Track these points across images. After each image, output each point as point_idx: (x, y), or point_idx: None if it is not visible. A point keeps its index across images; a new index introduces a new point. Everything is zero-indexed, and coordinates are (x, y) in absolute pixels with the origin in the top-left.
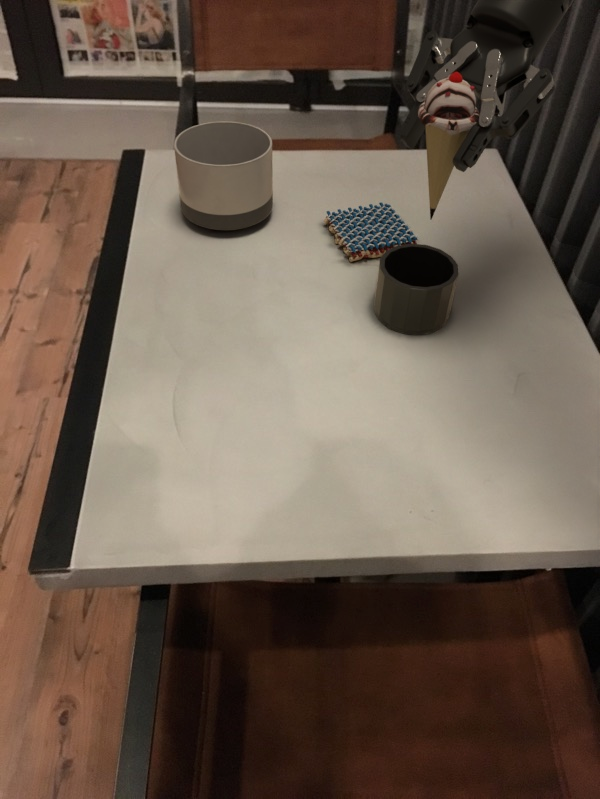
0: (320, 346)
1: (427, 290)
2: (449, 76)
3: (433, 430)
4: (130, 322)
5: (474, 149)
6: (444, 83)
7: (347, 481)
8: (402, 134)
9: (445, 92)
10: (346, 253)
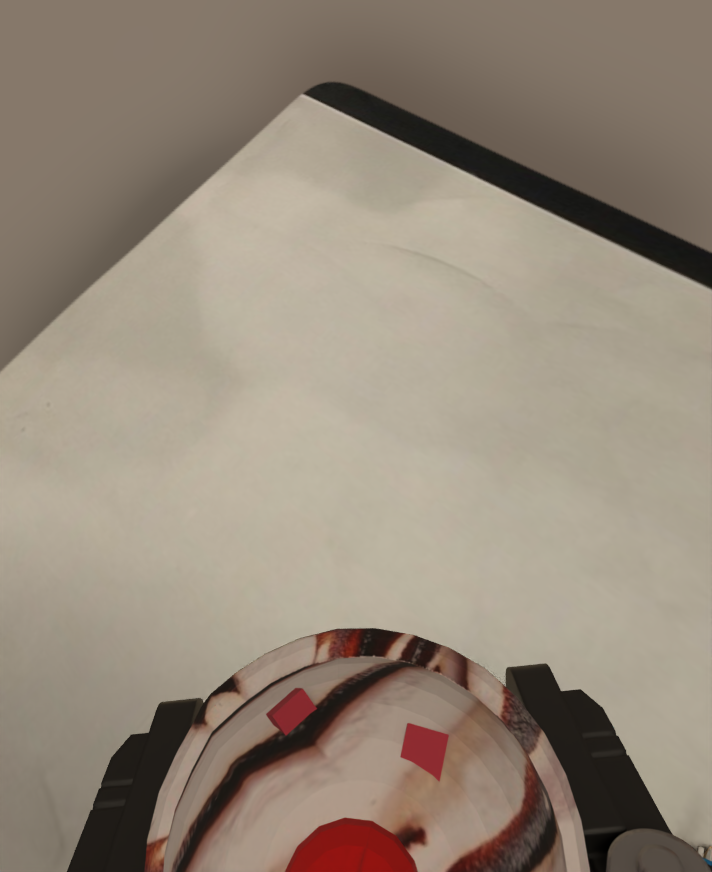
0: (429, 537)
1: None
2: (403, 859)
3: (115, 552)
4: (693, 304)
5: (106, 793)
6: (386, 767)
7: (155, 371)
8: (541, 668)
9: (319, 711)
10: (708, 849)
